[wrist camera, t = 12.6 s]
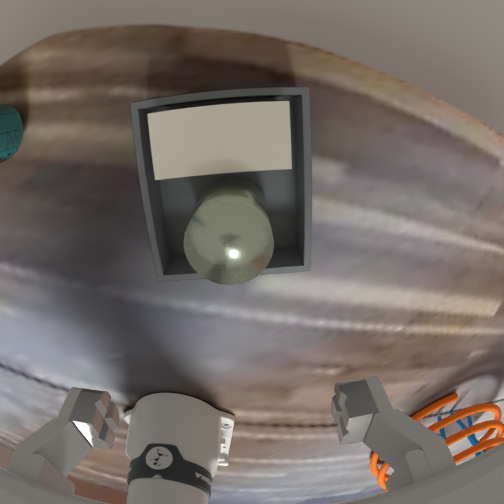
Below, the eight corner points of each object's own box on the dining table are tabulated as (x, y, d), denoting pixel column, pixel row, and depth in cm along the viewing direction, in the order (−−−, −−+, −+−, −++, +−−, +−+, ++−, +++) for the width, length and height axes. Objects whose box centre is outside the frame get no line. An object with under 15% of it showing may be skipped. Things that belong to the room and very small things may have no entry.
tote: (300, 247, 33) (310, 270, 28) (168, 257, 33) (158, 281, 28) (297, 91, 26) (308, 87, 21) (147, 104, 26) (130, 103, 21)
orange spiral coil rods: (360, 476, 65) (371, 547, 43) (375, 404, 52) (402, 508, 30) (467, 444, 61) (491, 504, 39) (508, 362, 48) (556, 434, 26)
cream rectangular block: (279, 156, 28) (291, 169, 22) (172, 165, 28) (155, 180, 22) (277, 103, 26) (289, 101, 20) (166, 113, 26) (147, 113, 20)
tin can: (264, 239, 31) (271, 284, 24) (200, 239, 31) (187, 284, 23) (266, 176, 29) (275, 202, 21) (197, 176, 28) (180, 202, 21)
